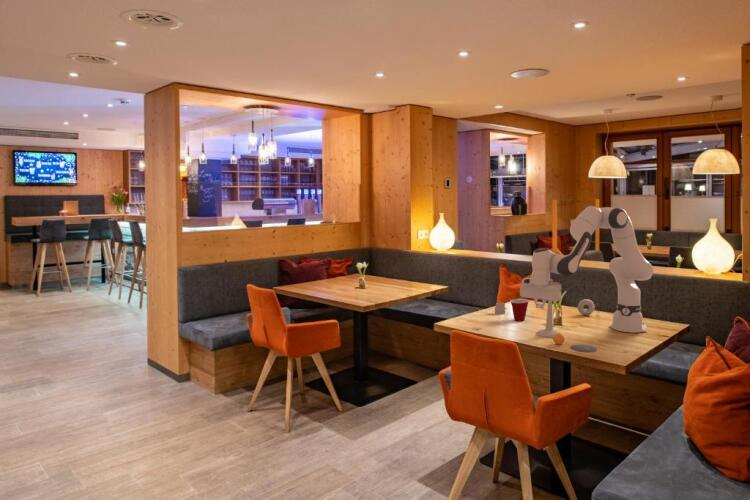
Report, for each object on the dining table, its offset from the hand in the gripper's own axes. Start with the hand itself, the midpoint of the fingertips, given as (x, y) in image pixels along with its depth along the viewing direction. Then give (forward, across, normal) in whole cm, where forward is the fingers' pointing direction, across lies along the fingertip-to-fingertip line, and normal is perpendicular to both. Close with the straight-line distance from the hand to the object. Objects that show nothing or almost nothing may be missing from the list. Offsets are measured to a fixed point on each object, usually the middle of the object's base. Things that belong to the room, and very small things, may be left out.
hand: (539, 307), depth 279 cm
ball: (+14, -10, 0) cm, 18 cm away
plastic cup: (+17, +25, -36) cm, 47 cm away
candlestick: (+17, 0, -15) cm, 23 cm away
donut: (+17, -3, -71) cm, 73 cm away
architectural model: (+18, +41, -45) cm, 63 cm away
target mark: (+17, -22, 0) cm, 28 cm away
